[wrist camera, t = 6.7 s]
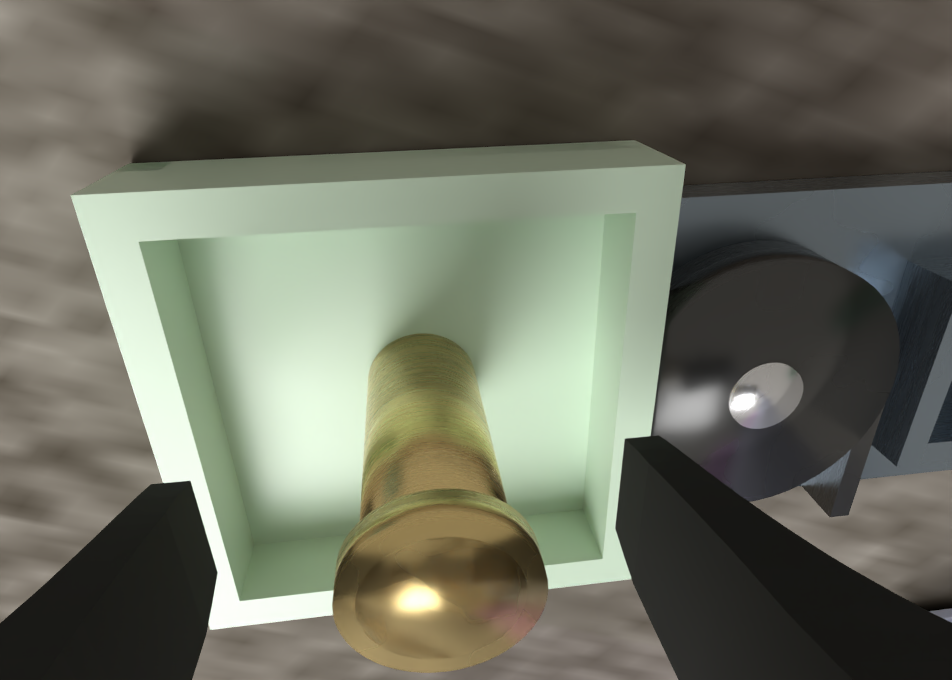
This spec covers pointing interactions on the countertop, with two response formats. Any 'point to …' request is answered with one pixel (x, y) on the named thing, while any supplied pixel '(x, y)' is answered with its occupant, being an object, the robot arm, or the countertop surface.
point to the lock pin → (433, 523)
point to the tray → (385, 335)
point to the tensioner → (811, 333)
